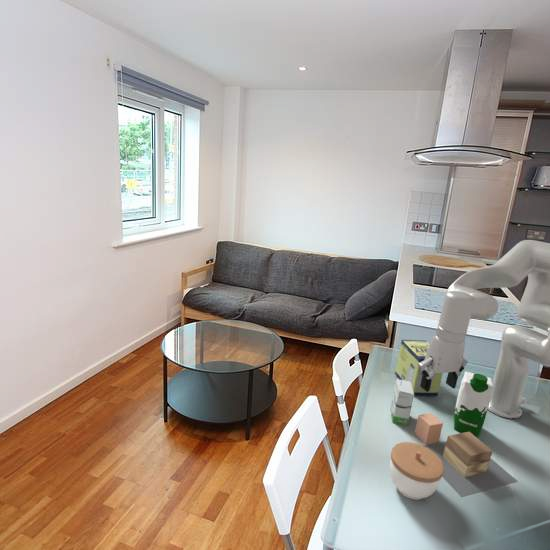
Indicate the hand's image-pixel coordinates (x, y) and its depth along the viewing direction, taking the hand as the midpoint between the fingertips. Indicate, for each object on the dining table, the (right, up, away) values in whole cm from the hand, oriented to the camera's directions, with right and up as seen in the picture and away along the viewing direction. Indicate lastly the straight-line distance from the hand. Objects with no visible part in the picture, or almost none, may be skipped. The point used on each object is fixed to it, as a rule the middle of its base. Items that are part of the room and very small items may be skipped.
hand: (437, 387), depth 113 cm
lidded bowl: (-13, -22, -15) cm, 29 cm away
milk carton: (+14, -17, +12) cm, 25 cm away
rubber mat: (+5, -21, -5) cm, 22 cm away
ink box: (-7, -14, +14) cm, 21 cm away
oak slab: (+5, -20, -5) cm, 21 cm away
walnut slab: (+6, -17, -6) cm, 19 cm away
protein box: (+6, -10, +36) cm, 37 cm away
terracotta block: (-1, -17, +5) cm, 18 cm away
